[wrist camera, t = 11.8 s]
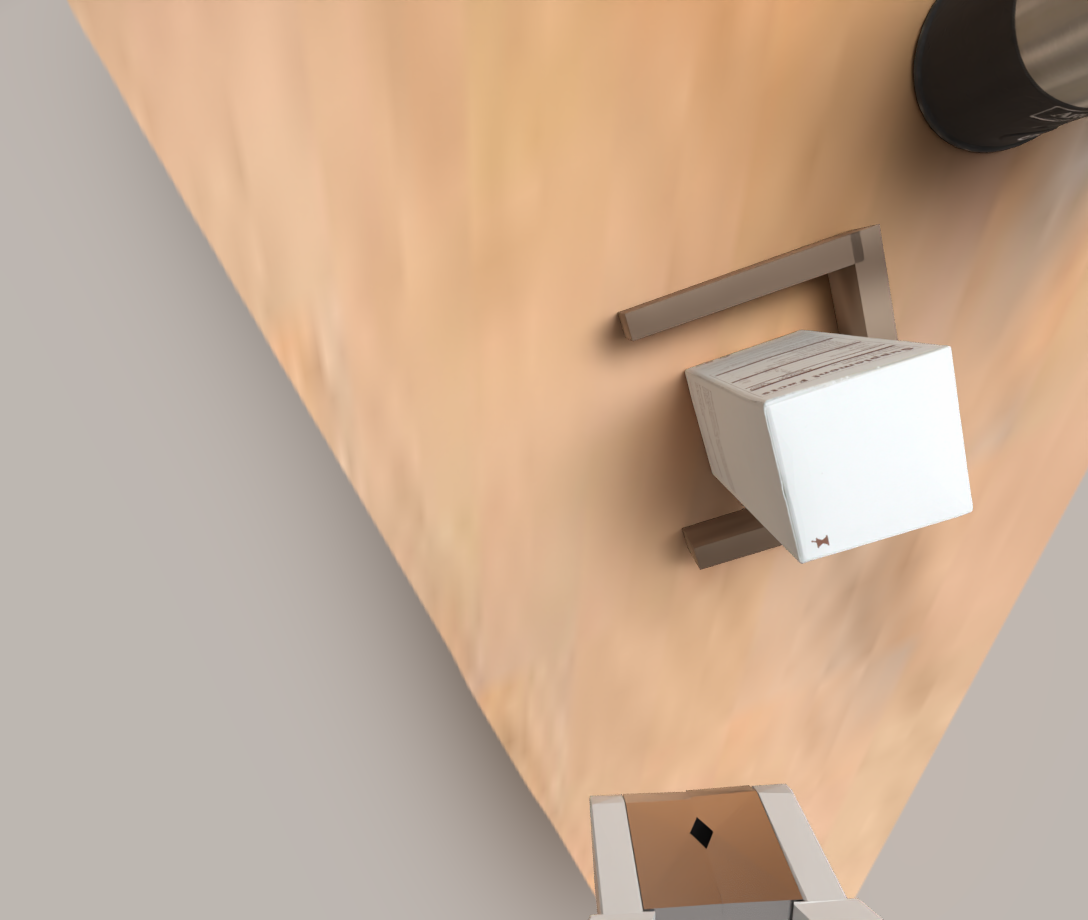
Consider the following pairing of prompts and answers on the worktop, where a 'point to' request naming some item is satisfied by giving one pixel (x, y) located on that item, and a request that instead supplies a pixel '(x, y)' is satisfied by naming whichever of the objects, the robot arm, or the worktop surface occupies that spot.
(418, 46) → the worktop surface
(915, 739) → the worktop surface
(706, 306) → the walnut corral
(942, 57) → the milk frother
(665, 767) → the worktop surface
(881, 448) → the supplement box
